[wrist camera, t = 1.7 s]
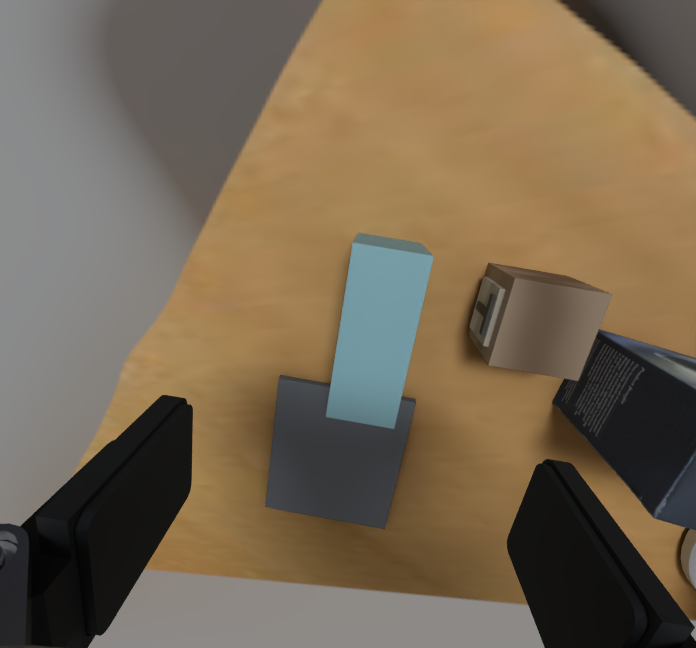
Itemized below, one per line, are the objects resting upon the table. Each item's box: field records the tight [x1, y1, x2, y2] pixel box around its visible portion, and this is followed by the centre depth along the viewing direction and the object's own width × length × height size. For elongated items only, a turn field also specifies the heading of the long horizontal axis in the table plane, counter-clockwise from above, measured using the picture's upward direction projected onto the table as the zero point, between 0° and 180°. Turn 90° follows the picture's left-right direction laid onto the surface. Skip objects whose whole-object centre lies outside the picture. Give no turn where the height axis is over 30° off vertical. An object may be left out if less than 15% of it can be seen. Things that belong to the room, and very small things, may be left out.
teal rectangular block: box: [326, 233, 434, 429], centre depth 23 cm, size 4×10×6 cm, turn 171°
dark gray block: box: [265, 375, 416, 529], centre depth 29 cm, size 10×12×1 cm
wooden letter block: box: [469, 263, 613, 381], centre depth 22 cm, size 6×5×5 cm
